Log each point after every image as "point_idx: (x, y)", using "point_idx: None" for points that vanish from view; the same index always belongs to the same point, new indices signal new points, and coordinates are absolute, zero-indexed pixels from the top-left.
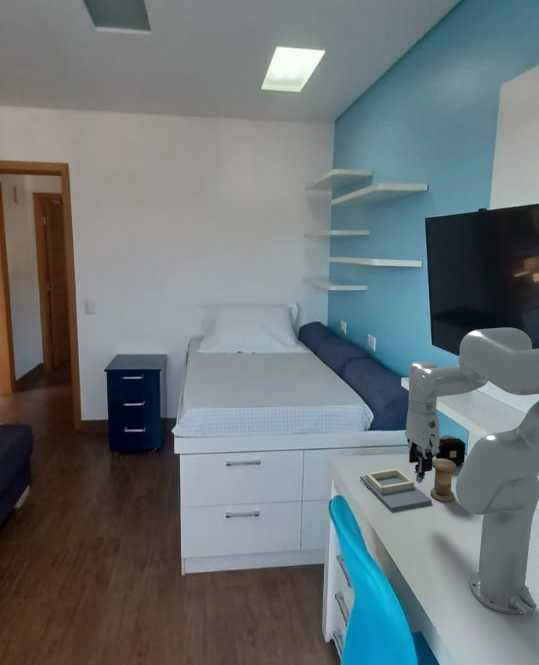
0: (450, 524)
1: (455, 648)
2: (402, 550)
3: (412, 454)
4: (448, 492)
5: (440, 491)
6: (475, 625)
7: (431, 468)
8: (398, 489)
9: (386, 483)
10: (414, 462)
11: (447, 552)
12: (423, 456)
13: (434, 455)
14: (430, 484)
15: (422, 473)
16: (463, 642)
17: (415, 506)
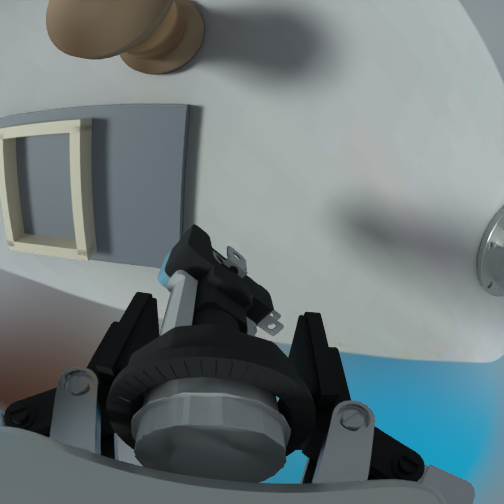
0: (324, 136)
1: (491, 361)
2: (342, 333)
3: (143, 394)
4: (186, 22)
5: (169, 50)
6: (501, 323)
7: (319, 323)
8: (89, 185)
9: (46, 195)
10: (158, 330)
11: (407, 247)
12: (311, 459)
13: (406, 452)
14: None
15: (258, 315)
16: (495, 350)
17: (184, 173)
